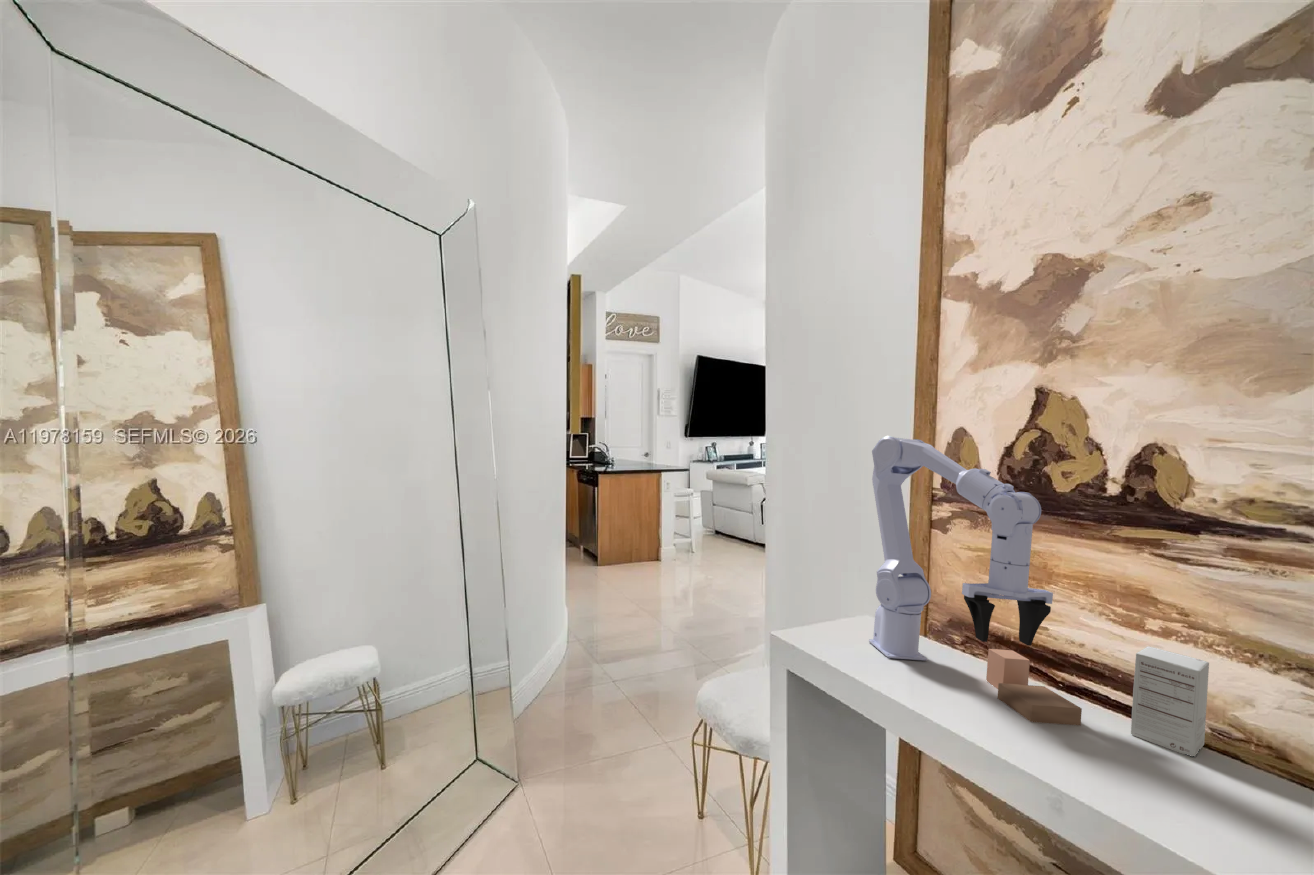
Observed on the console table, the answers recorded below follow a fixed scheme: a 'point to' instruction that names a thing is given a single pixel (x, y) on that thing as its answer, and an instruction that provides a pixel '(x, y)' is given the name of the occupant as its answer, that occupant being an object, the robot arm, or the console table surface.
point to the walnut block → (1039, 704)
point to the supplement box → (1170, 700)
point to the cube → (1007, 668)
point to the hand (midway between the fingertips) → (1003, 641)
